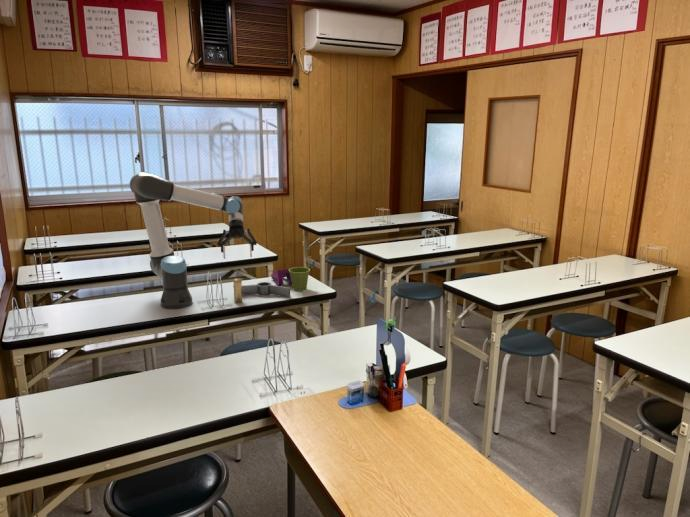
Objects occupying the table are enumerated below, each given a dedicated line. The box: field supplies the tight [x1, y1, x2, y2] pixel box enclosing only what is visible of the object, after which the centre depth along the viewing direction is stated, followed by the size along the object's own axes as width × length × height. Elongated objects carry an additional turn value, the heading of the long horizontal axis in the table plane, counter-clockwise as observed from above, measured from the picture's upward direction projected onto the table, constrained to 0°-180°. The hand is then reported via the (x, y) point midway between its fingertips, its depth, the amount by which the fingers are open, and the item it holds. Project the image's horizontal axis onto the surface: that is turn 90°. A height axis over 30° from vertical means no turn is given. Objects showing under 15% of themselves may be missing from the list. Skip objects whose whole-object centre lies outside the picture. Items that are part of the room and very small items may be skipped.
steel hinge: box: [242, 281, 291, 298], centre depth 266 cm, size 30×10×5 cm, turn 87°
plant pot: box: [288, 266, 311, 292], centre depth 273 cm, size 12×12×11 cm
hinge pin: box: [232, 278, 243, 304], centre depth 252 cm, size 4×4×12 cm
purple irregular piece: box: [271, 268, 293, 287], centre depth 286 cm, size 9×8×18 cm
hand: (237, 256), depth 259 cm, fingers open, 13 cm apart
